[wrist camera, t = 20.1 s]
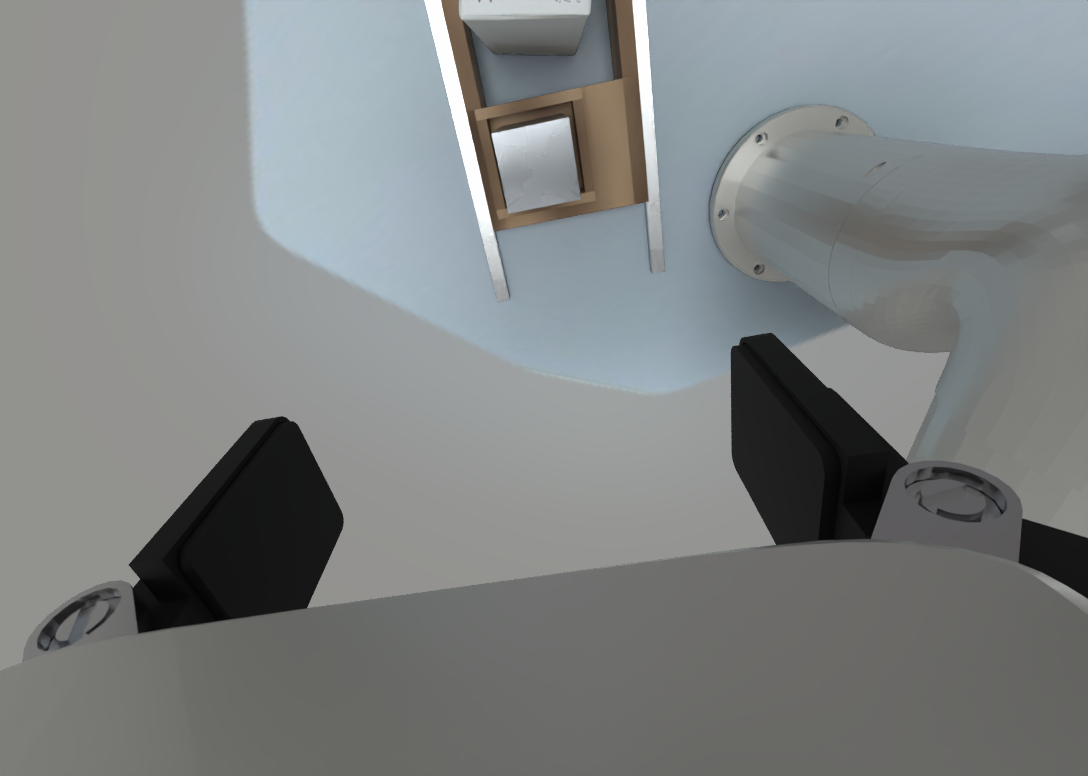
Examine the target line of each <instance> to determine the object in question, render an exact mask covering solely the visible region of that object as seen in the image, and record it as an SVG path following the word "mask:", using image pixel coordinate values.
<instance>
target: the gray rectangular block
mask: <svg viewBox="0 0 1088 776" xmlns="http://www.w3.org/2000/svg"><path fill="white" fill-rule="evenodd" d="M491 135H492V139H493V144H494V148H495V153H496V158H497V162H498V167H499V171H500V176H501V181H502V185H503V190H504V195H505V199H506V204H507V208H508V213H509V214H510V213H515V212H520V211H525V210H530V209H535V208H540V207H545V206H550V205H555V204H560V203H565V202H570V201H575V200H580V199H581V196H580V189H579V182H578V176H577V169H576V162H575V155H574V149H573V142H572V135H571V128H570V122H569V117H568V116H566V115H564V114H563V113H560V114H556V115H551V116H546V117H542V118H537V119H532V120H528V121H523V122H518V123H514V124H509V125H505V126H501V127H499V128H498V129H497V130H495V131H494V132H493V133H492V134H491Z"/></svg>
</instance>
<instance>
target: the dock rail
mask: <svg viewBox="0 0 1088 776" xmlns="http://www.w3.org/2000/svg"><path fill="white" fill-rule="evenodd" d="M425 4H426V8H427V12H428V16H429V20H430V25H431V29H432V33H433V37H434V41H435V45H436V49H437V54H438V58H439V62H440V66H441V70H442V74H443V78H444V82H445V87H446V91H447V95H448V99H449V103H450V107H451V111H452V116H453V120H454V124H455V128H456V132H457V136H458V140H459V145H460V149H461V153H462V157H463V161H464V165H465V169H466V173H467V178H468V182H469V186H470V190H471V194H472V198H473V202H474V207H475V211H476V215H477V219H478V223H479V227H480V231H481V235H482V240H483V244H484V248H485V252H486V256H487V260H488V264H489V269H490V273H491V277H492V281H493V285H494V289H495V293H496V297H497V302H499V301H505V300H509V299H510V295H509V291H508V286H507V282H506V277H505V273H504V269H503V264H502V260H501V256H500V251H499V247H498V242H497V238H496V234H495V231H493V227H492V223H491V218H490V214H489V210H488V205H487V201H486V197H485V192H484V188H483V183H482V179H481V175H480V170H479V166H478V162H477V157H476V153H475V149H474V144H473V140H472V136H471V131H470V127H469V123H468V118H467V114H466V109H465V105H464V101H463V96H462V92H461V88H460V83H459V79H458V75H457V70H456V66H455V62H454V57H453V53H452V49H451V44H450V40H449V35H448V31H447V27H446V22H445V18H444V14H443V9H442V5H441V1H440V0H425ZM633 13H634V25H635V37H636V49H637V61H638V74H639V86H640V98H641V110H642V122H643V135H644V147H645V159H646V171H647V183H648V196H649V202H645V211H646V223H647V234H648V246H649V258H650V269H651V272H652V273H658V272H663V271H665V265H664V251H663V237H662V223H661V209H660V195H659V182H658V168H657V154H656V140H655V126H654V112H653V98H652V84H651V71H650V57H649V43H648V29H647V15H646V1H645V0H633Z"/></svg>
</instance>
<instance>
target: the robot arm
mask: <svg viewBox="0 0 1088 776" xmlns="http://www.w3.org/2000/svg"><path fill="white" fill-rule="evenodd" d="M837 119H838V121H839V122H838V124H837V125H835V124H836V121H837ZM757 135H760V140H759V141H758V142H756V137H757ZM720 210H723V214H722V215H721V216H718V213H719V212H720ZM710 223H711V229H712V234H713V236H714V239H715V241H716V244H717V246H718V248H719V249H720V251H721V252H722V254H723V255H724V257H725V258H726V259H727V260H728V261H729V262H730V263H731V264H732V265H733V266H734V267H736V268H737V269H739V270H740V271H741V272H743V273H744V274H746V275H748V276H750V277H752V278H755V279H759V280H764V281H769V282H788V281H791V282H793V283H794V284H795V285H797V286H798V287H800V288H801V289H802V290H804V291H805V292H806V293H808V294H809V295H811V296H812V297H813V298H815V299H816V300H818V301H819V302H820V303H822V304H823V305H825V306H826V307H827V308H829V309H830V310H831V311H833V312H834V313H836V314H837V315H838V316H840V317H841V318H843V319H844V320H845V321H847V322H848V323H849V324H851V325H852V326H854V327H855V328H857V329H858V330H860V331H861V332H862V333H864V334H865V335H867V336H868V337H870V338H872V339H874V340H876V341H878V342H880V343H882V344H885V345H887V346H890V347H893V348H896V349H901V350H907V351H914V352H925V353H934V352H935V353H937V352H950V351H951V352H950V355H949V358H948V360H947V363H946V365H945V368H944V370H943V372H942V375H941V377H940V379H939V381H938V384H937V386H936V390H935V397H934V399H933V401H932V403H931V405H930V408H929V410H928V412H927V414H926V416H925V419H924V421H923V423H922V425H921V428H920V430H919V432H918V434H917V436H916V439H915V441H914V443H913V445H912V447H911V450H910V452H909V454H908V456H907V459H906V460H905V459H904V458H903V457H902V456H901V455H900V454H899V453H898V452H897V451H896V450H895V449H894V448H893V447H892V446H891V445H890V444H889V443H888V442H887V441H885V439H883V437H882V436H880V435H879V434H878V433H877V432H876V431H875V430H874V429H873V428H872V427H871V426H870V425H869V424H868V423H867V422H866V421H865V420H864V419H863V418H862V417H861V416H860V415H859V414H858V413H857V412H856V411H855V410H854V409H853V408H852V407H851V406H850V405H849V404H848V403H847V402H846V401H845V400H844V399H843V398H842V397H841V396H840V395H839V394H837V392H835V391H834V390H833V389H831V388H827V387H826V386H825V385H824V384H823V383H822V382H821V381H820V380H819V379H818V378H817V377H816V376H815V375H814V374H813V373H812V372H811V371H810V370H809V369H808V368H807V367H806V366H805V365H804V364H803V363H802V362H801V361H800V360H799V359H798V358H797V357H796V356H795V355H794V354H793V353H792V352H791V351H790V350H789V349H788V348H787V347H786V346H785V345H784V344H783V343H782V342H781V341H780V340H779V339H778V338H777V337H776V336H775V335H774V334H772V333H767V334H761V335H755V336H749V337H744V338H741V340H740V344H739V345H738V346H733V347H732V349H731V424H732V425H731V427H732V428H731V429H732V430H731V432H732V458H733V463H734V466H735V468H736V471H737V472H738V474H739V476H740V478H741V480H742V482H743V484H744V486H745V487H746V489H747V491H748V493H749V495H750V497H751V498H752V500H753V502H754V504H755V506H756V508H757V510H758V512H759V513H760V515H761V517H762V519H763V521H764V523H765V525H766V526H767V528H768V530H769V532H770V534H771V536H772V538H773V539H774V541H775V543H776V545H772V546H764V547H763V546H762V547H753V548H743V549H735V550H728V551H720V552H713V553H705V554H697V555H690V556H683V557H675V558H668V559H660V560H653V561H645V562H638V563H631V564H623V565H616V566H608V567H601V568H593V569H586V570H578V571H571V572H564V573H557V574H551V575H542V576H536V577H528V578H522V579H514V580H507V581H499V582H493V583H485V584H478V585H471V586H464V587H457V588H450V589H442V590H435V591H428V592H421V593H414V594H407V595H399V596H392V597H385V598H378V599H370V600H363V601H356V602H349V603H342V604H334V605H327V606H320V607H313V608H307V607H308V604H309V602H310V600H311V597H312V595H313V593H314V591H315V589H316V587H317V584H318V582H319V580H320V577H321V575H322V573H323V571H324V569H325V566H326V564H327V562H328V560H329V558H330V555H331V553H332V551H333V549H334V547H335V544H336V542H337V540H338V538H339V535H340V533H341V531H342V528H343V523H344V522H343V514H342V512H341V509H340V507H339V505H338V503H337V501H336V499H335V497H334V496H333V493H332V491H331V490H330V488H329V486H328V484H327V482H326V480H325V478H324V476H323V474H322V472H321V470H320V468H319V466H318V464H317V462H316V460H315V458H314V456H313V454H312V452H311V450H310V448H309V446H308V444H307V442H306V440H305V438H304V436H303V434H302V432H301V430H300V428H299V426H298V425H297V424H296V423H295V422H293V421H291V422H290V421H289V420H288V419H287V418H286V417H283V416H282V417H276V418H270V419H264V420H258V421H255V422H254V423H252V425H250V427H249V428H248V429H247V430H246V431H245V432H244V433H243V435H242V436H241V437H240V438H239V439H238V441H236V443H235V444H234V445H233V446H232V447H231V448H230V449H229V451H228V452H227V453H226V454H225V455H224V456H223V457H222V459H221V460H220V461H219V462H218V463H217V464H216V465H215V467H214V468H213V469H212V470H211V471H210V472H209V474H208V475H207V476H206V477H205V478H204V479H203V480H202V482H201V483H200V484H199V485H198V486H197V487H196V488H195V490H194V491H193V492H192V493H191V494H190V495H189V496H188V498H187V499H186V500H185V501H184V502H183V503H182V504H181V506H180V507H179V508H178V509H177V510H176V511H175V512H174V514H173V515H172V516H171V517H170V518H169V519H168V521H167V522H166V523H165V524H164V525H163V526H162V527H161V528H160V530H159V531H158V532H157V533H156V534H155V535H154V537H153V538H152V539H151V540H150V541H149V542H148V543H147V544H146V546H145V547H144V548H143V549H142V550H141V551H140V553H139V554H138V555H137V556H136V557H135V558H134V559H133V560H132V562H131V563H130V564H129V566H130V567H131V568H132V570H133V571H134V572H135V573H136V574H137V576H138V577H139V578H140V580H139V581H138V583H137V584H136V585H135V586H134V588H133V587H132V586H131V585H130V584H129V583H127V582H124V581H110V582H106V583H103V584H100V585H96V586H94V587H92V588H90V589H88V590H85V591H83V592H81V593H79V594H78V595H76V596H75V597H73V598H71V599H70V600H68V601H67V602H65V603H63V604H62V605H61V606H59V607H58V608H57V609H56V610H54V611H53V612H52V613H50V614H49V615H48V616H47V617H46V618H45V619H44V620H43V621H42V622H41V623H40V624H39V625H38V626H37V627H36V629H35V630H34V631H33V633H32V634H31V635H30V637H29V638H28V640H27V643H26V646H25V648H24V654H23V662H22V663H19V664H16V665H13V666H11V667H9V668H6V669H4V670H1V671H0V776H1088V155H1060V154H1042V153H1026V152H1011V151H1001V150H992V149H983V148H974V147H962V146H953V145H945V144H936V143H927V142H918V141H909V140H901V139H892V138H883V137H876V136H875V134H874V132H873V131H872V130H871V129H870V128H869V126H868V125H867V124H866V123H865V122H864V121H863V120H862V119H860V118H859V117H857V116H856V115H855V114H853V113H852V112H849V111H847V110H844V109H841V108H839V107H834V106H826V105H804V106H799V107H794V108H789V109H786V110H784V111H781V112H779V113H777V114H774V115H772V116H770V117H768V118H767V119H765V120H764V121H762V122H761V123H759V124H757V125H756V126H755V127H754V128H752V129H751V130H750V131H749V132H748V133H747V134H746V135H745V136H743V137H742V138H741V139H740V141H739V142H738V143H737V144H736V145H735V147H734V148H733V149H732V150H731V152H730V153H729V154H728V156H727V158H726V159H725V161H724V163H723V165H722V166H721V168H720V170H719V173H718V175H717V178H716V180H715V183H714V186H713V190H712V195H711V200H710ZM756 265H758V267H757V268H756V269H754V267H755V266H756Z"/></svg>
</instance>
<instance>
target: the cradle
mask: <svg viewBox="0 0 1088 776" xmlns="http://www.w3.org/2000/svg"><path fill="white" fill-rule="evenodd" d="M440 1H441V5H442V9H443V14H444V18H445V22H446V27H447V31H448V35H449V40H450V44H451V49H452V53H453V57H454V62H455V66H456V70H457V75H458V79H459V83H460V88H461V92H462V96H463V101H464V105H465V109H466V114H467V118H468V123H469V127H470V131H471V136H472V140H473V144H474V149H475V153H476V157H477V162H478V166H479V170H480V175H481V179H482V183H483V188H484V192H485V197H486V201H487V205H488V210H489V214H490V218H491V223H492V227H493V231H500V230H505V229H510V228H515V227H520V226H525V225H530V224H536V223H541V222H546V221H551V220H556V219H561V218H566V217H572V216H577V215H582V214H587V213H592V212H597V211H603V210H608V209H613V208H618V207H623V206H628V205H633V204H639V203H644V202H649V196H648V183H647V171H646V159H645V147H644V135H643V122H642V110H641V98H640V86H639V74H638V61H637V49H636V37H635V25H634V13H633V0H606V6H607V16H608V26H609V35H610V45H611V55H612V65H613V74H614V80H612V81H608V82H603V83H598V84H594V85H589V86H584V87H579V88H575V89H570V90H565V91H561V92H556V93H551V94H547V95H542V96H537V97H533V98H528V99H523V100H519V101H514V102H509V103H505V104H500V105H495V106H491V107H486V102H485V97H484V93H483V88H482V83H481V78H480V74H479V69H478V64H477V59H476V55H475V50H474V45H473V41H472V36H471V31H470V27H469V26H468V25H467V24H466V23H465V22H464V21H463V20H461V18H460V16H459V0H440ZM560 113H563V114H564V115H566V116H568V117H569V122H570V128H571V135H572V142H573V149H574V155H575V162H576V169H577V176H578V182H579V189H580V196H581V199H580V200H575V201H570V202H565V203H560V204H555V205H550V206H545V207H540V208H535V209H530V210H525V211H520V212H515V213H510V214H509V213H508V208H507V204H506V199H505V195H504V190H503V185H502V181H501V176H500V171H499V167H498V162H497V158H496V153H495V148H494V144H493V139H492V135H491V134H492V133H493V132H494V131H495V130H497V129H498V128H499V127H501V126H505V125H509V124H514V123H518V122H523V121H528V120H532V119H537V118H542V117H546V116H551V115H556V114H560Z"/></svg>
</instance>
